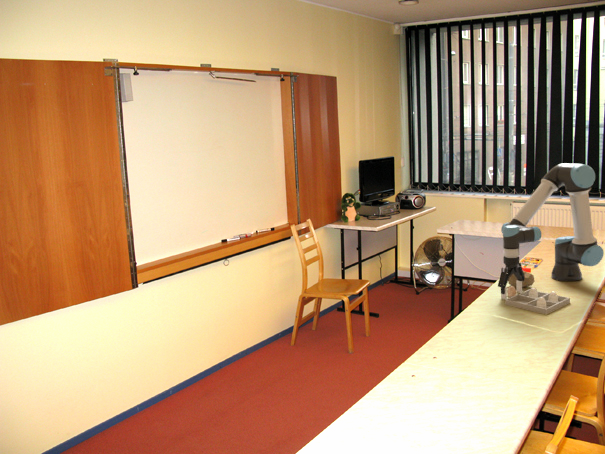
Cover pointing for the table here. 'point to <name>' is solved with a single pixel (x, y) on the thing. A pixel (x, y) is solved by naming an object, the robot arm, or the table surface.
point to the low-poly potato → (527, 281)
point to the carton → (531, 303)
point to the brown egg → (511, 291)
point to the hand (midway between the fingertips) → (511, 296)
